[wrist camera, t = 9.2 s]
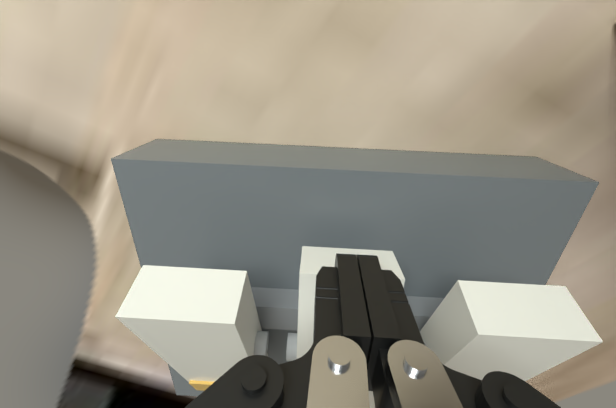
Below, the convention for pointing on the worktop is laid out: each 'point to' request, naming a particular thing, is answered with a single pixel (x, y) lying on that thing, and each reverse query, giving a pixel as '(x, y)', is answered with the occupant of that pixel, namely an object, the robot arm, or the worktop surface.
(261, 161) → the console
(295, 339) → the rocker mid
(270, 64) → the worktop surface
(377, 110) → the worktop surface
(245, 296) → the rocker
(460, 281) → the rocker
